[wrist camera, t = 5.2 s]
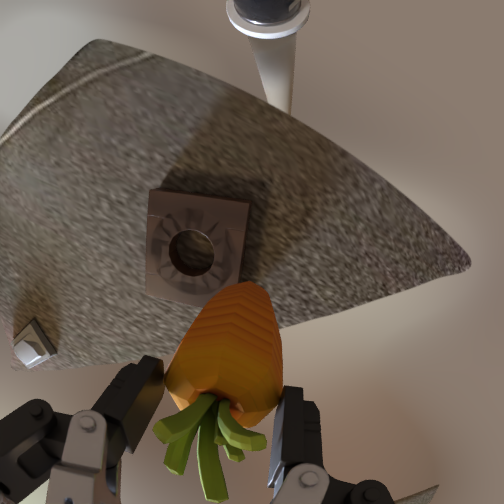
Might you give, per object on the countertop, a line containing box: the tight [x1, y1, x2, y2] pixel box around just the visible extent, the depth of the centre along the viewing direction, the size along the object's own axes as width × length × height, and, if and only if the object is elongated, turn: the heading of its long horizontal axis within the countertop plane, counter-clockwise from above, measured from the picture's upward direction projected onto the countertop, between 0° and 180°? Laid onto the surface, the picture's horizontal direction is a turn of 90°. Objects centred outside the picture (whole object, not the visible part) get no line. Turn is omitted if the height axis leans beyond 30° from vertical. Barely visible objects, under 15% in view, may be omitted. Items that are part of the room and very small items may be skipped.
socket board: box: [146, 188, 252, 308], centre depth 40 cm, size 16×14×3 cm
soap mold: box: [11, 320, 57, 369], centre depth 53 cm, size 10×20×4 cm, turn 120°
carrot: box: [153, 281, 283, 503], centre depth 13 cm, size 5×5×15 cm
